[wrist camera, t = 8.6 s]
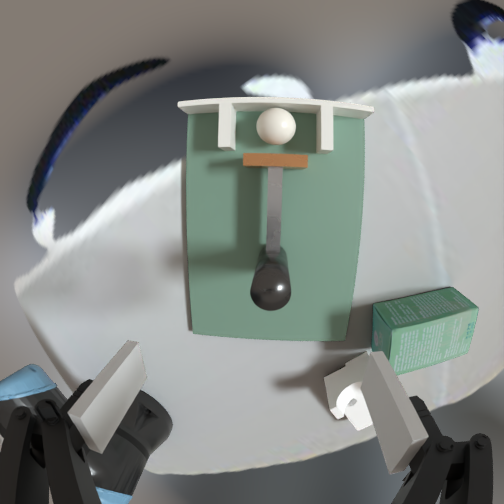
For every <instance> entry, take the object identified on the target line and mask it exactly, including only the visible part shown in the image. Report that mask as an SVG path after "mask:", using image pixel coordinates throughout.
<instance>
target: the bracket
mask: <svg viewBox="0 0 504 504" xmlns="http://www.w3.org/2000/svg"><path fill="white" fill-rule="evenodd" d="M368 360H369V355H368V353H367V351H366V352H365V353H363V354H361V355H359V356H358V357H356V358H354V359H352V360H350V361H349V362H347V363H345V365H346V366H345V367H343V368H342V369H340V370H338V371H336V372H334V373H332V374H330V375H328V376H326V377H324V382H325V387H326V392H327V398H328V403H329V409H330V411H331V412H332V413H333V414H334V416H335V417H336V418H337V419H340V418H342V417H344V414H345V415H346V416H347V418H348V419H349V420H350V422H351V423H352V424H353V425H354V427H355V428H356V429H357V431H359V430H361V429H364V428H366V427H368V426H370V425H372V424H373V422H372V419H371V416H370V413H369V410H368V408H367V405H366V402H365V399H364V397H363V394H362V391H361V385H362V381H363V378H364V374H365V371H366V367H367V364H368Z"/></svg>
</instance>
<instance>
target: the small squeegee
mask: <svg viewBox="0 0 504 504" xmlns="http://www.w3.org/2000/svg"><path fill="white" fill-rule="evenodd" d="M243 166H245V167H247V168H268V194H267V232H266V246H265V247H263V248H262V249H261V251H260V253H259V256H258V260H257V264H256V268H255V272H254V276H253V280H252V284H251V289H250V295H251V299H252V301H253V302H254V304H255V305H256V306H258V307H259V308H261V309H263V310H266V311H275V310H279V309H281V308H283V307H284V306H285V305H286V304H287V303H288V302H289V300H290V297H291V284H290V276H289V268H288V260H287V254H286V252H285V250H284V249H283V248H282V247H281V246H280V239H281V212H282V177H283V169H300V170H304V169H306V168H308V155H299V154H275V153H243Z"/></svg>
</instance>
